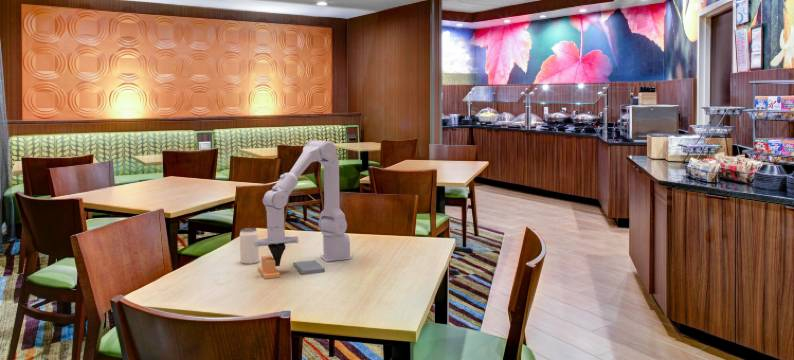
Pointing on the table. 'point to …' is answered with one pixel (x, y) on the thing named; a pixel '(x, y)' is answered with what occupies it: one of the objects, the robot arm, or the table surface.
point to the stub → (268, 268)
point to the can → (249, 246)
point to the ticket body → (308, 267)
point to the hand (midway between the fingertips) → (277, 265)
